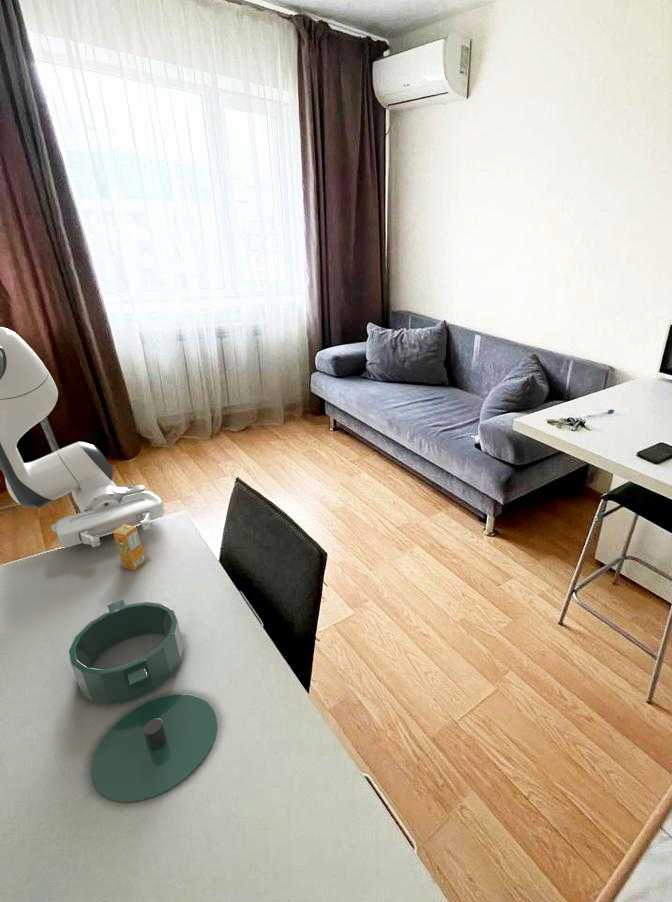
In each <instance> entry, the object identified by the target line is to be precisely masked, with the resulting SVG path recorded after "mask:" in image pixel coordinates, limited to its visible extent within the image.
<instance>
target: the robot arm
mask: <svg viewBox="0 0 672 902" xmlns="http://www.w3.org/2000/svg"><path fill="white" fill-rule="evenodd" d="M58 397H59V391H58V388H57V385H56V383H55V381H54V379H53V376H52V375H51V373H50V371H49V369H47V367H46V365H45V363H43V361H42V360H41V359H40V357H39V356H38V355H37V353H36V352H35V351H34V350H33V348H31V346H29V344H27V342H26V341H25V340H24V339H23V338H22V337H21V336H20V335H19V334H17V333H16V331H13V330H11V329H10V328H7V327H3V326H0V471H1V472H2V474H3V476H4V480H5V485H6V489H7V492H8V493H9V496H10V497H11V498H12V499H13V500H14V501H15V503H17V504H18V505H20V506H21V507H23V508H29V509H43V508H44V507H46V506H47V505H49V504H51V503H53V502H55V501H56V500H57V499H59V498H61V497H63V496H65V495H68V494H70V493H71V496H72V499H73V500H74V503H75V504H76V506H77V507H78V510H79V512H77V513H75V514H71V515H68V516H64V517H62V518H60V519H59V520H58V521H57V522H55V523H52V525H51V526H50V529H51V531H52V532H53V533H54V534H56V535H57V536H56V537H57V539H58V542H59V545H60V547H61V548H70V547H71V548H72V547H74V546H77V545H81V544H85V545H91V547H92V548H97V547H99V546H101V545H102V544H101V540H100V538H103V537H105V536H109V535H111V534H113V532H114V531H115V530H117V529H118V528H119V527H121V526H122V525H124V524H126V525H129V526H135V527H137V526H138V525H140V529H141V530H142V531H147V530H149V529H151V523H152V521H153V520H157V519H160V518H161V519H162V517H164V516H165V515H166V509H165V505H164V502H163V500H162V499H161V498H160V497H159V496H158V495H157V494H156V493H154V492H152V491H148V490H147V488H146V486H145V485H140V484H139V485H132V486H117V484H116V483H115V482H114V481H113V478H114V473H115V472H114V469H113V467H112V465H111V464H110V462H109V461H108V460H107V458H106V457H105V456H104V454H103V453H102V451H101V450H100V449H99V448H98V447H97V446H96V445H95V444H92V443H88V442H85V441H76V442H74V443H71V444H69V445H66V446H64V447H62V448H59V449H57V450H56V451H54V452H51V453H49V454H47V455H44V456H42V457H40V458H37V459H35V460H33V461H29V462H24V460H23V457H22V455H21V453H20V452H19V449H18V446H17V445H18V442H19V441H20V439H21V438H22V437H23V436H24V435H25V434H26V433H27V432H29V431H30V429H32V428H33V427H35V426H36V425H37V424H39V423H40V422H42V421H43V420H44V419H46V418H47V417H48V416H49V415H50V413H51V412H52V411H53V410H54V408H55V406H56V404H57V402H58Z"/></svg>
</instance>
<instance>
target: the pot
mask: <svg viewBox="0 0 672 902" xmlns="http://www.w3.org/2000/svg"><path fill="white" fill-rule="evenodd" d="M107 609H108V611H106V612H105V613H103V614H102V615H100V616H99V617H97V618H94V620H92V621H90V622H89V623H88V624H86V626H85V627H83V629H81V631H79V632H78V634H77V635H76V636H74V638H73V641H72V643H71V645H70V647H69V650H68V654H69V660H70V665H71V667H72V670H73V674H74V676H75V679H76V681H77V684H78V687H79V690H80V692H81V694H82V695H83V696H84V697H85V698H87V699H88V700H89V701H90V702H92V703H97V704H105V705H115V704H120V703H124V702H130V701H131V702H132V701H133V700H136V699H138V698H140V697H142V696H144V695H146V694H149V693H150V692H153V691H155V690H156V689H157V688H158V687H160V686H162V684H163V683H165V682H166V681H167V680H168V679H170V678H171V677H172V675H173V674H174V673H175V671H176V670H177V668H178V667H179V666H180V664H181V662H182V660H183V656H184V655H183V654H184V650H185V647H184V643H183V638H182V634H181V629H180V625H179V620H178V617H177V616H176V614H175V611H174V610H173V609H172V608H170V607H168V606H167V605H165V604H163V603H159V602H152V601H151V602H149V601H143V602H136V603H130V604H126V602H125V600H124V599H121V600H118V601H116V602H113V603H109V604H107ZM149 634H154V635H161V636H165V638H164V639H163V641H161V643H160V644H159V645H158V646H157V647H156V648H154V649H153V650H152V651H150V652H149V653H148V654H146V655H144V656H143V657H141V658H139V659H137V660H135V661H132V662H130V663H127V664H125V665H122V666H116V667H111V668H105V669H100V668H94V667H92V665H93V664H94V663H95V662H96V661H97V660H98V659H99V657H100V656H101V655H102V654H104V653H105V652H107V651H108V650H109V649H111V648H112V647H114V646H115V645H117V644H118V643H121V642H123V641H126V640H129V639H131V638H134V637H139V636H142V635H143V636H144V635H149Z"/></svg>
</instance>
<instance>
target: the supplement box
mask: <svg viewBox="0 0 672 902" xmlns="http://www.w3.org/2000/svg"><path fill="white" fill-rule="evenodd" d="M112 534H113V537H114V542H115V545H116V549H117V550H118V556H119V558H120V561H121V566H122V567H123V568H125V569H128V570H133V571H135V570H137V569H138V568H139V567H141V566H142V565H144V564H145V563H146V562H147V560H146V556H145V553H144V549H143V545H142V542H141V539H140V535H139V530H138V527H137V526H129V525H126V524H124V525H122V526H121V527H119V528H118V529H117V530H115V531H114V532H113V533H112Z"/></svg>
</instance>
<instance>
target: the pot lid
mask: <svg viewBox="0 0 672 902" xmlns="http://www.w3.org/2000/svg"><path fill="white" fill-rule="evenodd" d="M217 718H218V717H217V715H216V712H215V710H214V708H213V707H212V705H211V704H210V703H209V702H207V700H205V699H204V698H201V697H199V696H197V695H193V694H184V693H177V694H175V693H174V694H169V695H165V696H161V697H157V698H155V699H152V700H149V701H147V702H145V703H143V704H142V705H139V706H138V707H136V708H134V709H133V710H131V711H130V712H128V713H127V714H126V715H124V716H122V718H120V720H118V721H117V722H116V723H115V724H114V725H113V726H112V727H111V728H110V729H109V730H108V732H107V733H106V734H105V736H104V737H103V739H102V740H101V741H100V742H99V745H98V747H97V749H96V750H95V753H94V756H93V759H92V762H91V770H90V771H91V781H92V783H93V785H94V787H95V789H96V790H97V791H98V793H99V794H101V796H103V797H104V798H106V799H108V800H110V801H114V802H119V803H135V802H136V803H137V802H142V801H145V800H149V799H153V798H156V797H158V796H160V795H163V794H164V793H166V792H168V791H170V790H172V789H173V788H175V787H176V786H178V785H180V784H181V783H182V782H184V781H185V780H186V779H187V778H188V777H190V776H191V774H193V773H194V772H195V771H196V770H197V769H198V767H199V766H200V765H202V763H203V761H204V760H205V759H206V757H207V756H208V754H209V752H210V751H211V750H212V747H213V745H214V743H215V739H216V737H217V732H218V719H217Z"/></svg>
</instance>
